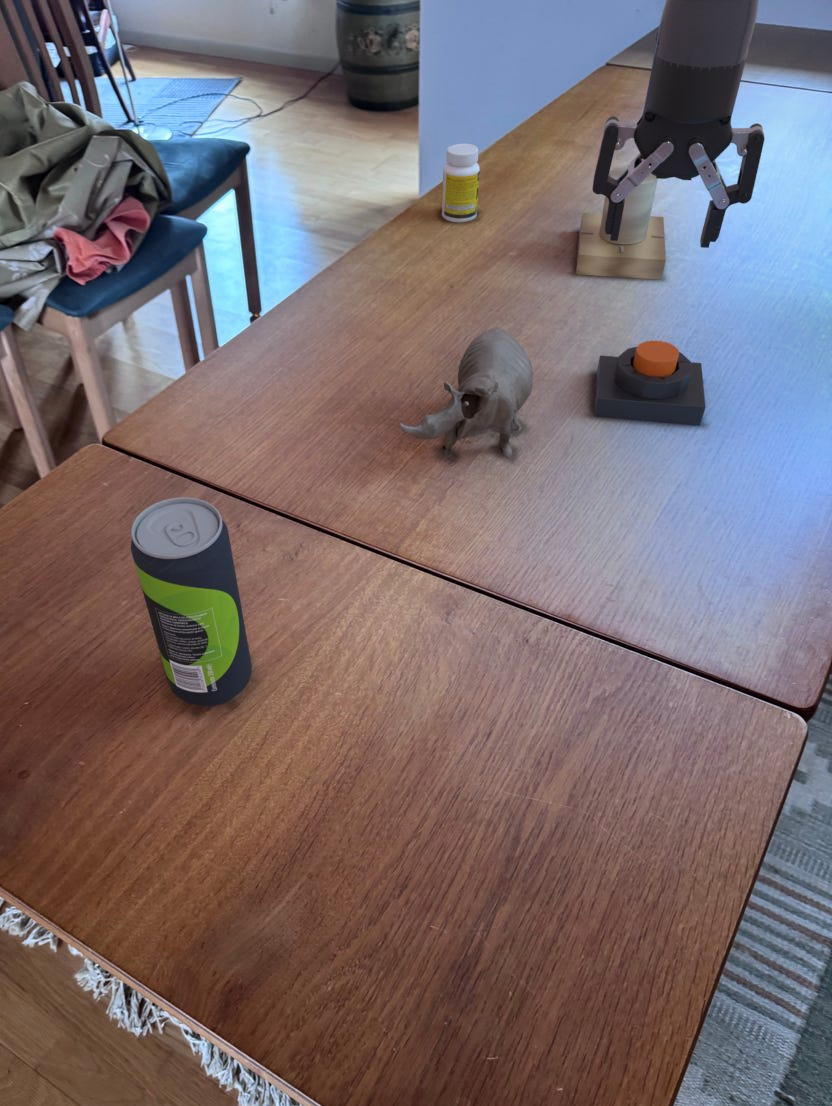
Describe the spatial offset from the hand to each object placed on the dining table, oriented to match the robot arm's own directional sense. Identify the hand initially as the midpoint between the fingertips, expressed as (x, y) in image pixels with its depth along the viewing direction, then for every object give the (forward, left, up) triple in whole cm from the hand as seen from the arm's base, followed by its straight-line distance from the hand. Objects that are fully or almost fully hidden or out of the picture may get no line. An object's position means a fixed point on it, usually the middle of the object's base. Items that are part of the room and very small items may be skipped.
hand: (658, 241), depth 88 cm
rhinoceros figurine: (+15, +19, -12) cm, 27 cm away
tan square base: (+2, -23, -12) cm, 26 cm away
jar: (+2, -23, -9) cm, 25 cm away
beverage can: (+31, +52, -12) cm, 62 cm away
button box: (-1, +9, -12) cm, 15 cm away
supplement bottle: (+23, -32, -12) cm, 41 cm away
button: (-1, +9, -8) cm, 12 cm away
